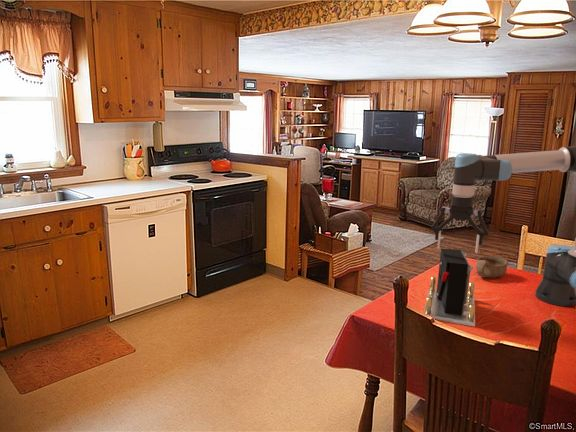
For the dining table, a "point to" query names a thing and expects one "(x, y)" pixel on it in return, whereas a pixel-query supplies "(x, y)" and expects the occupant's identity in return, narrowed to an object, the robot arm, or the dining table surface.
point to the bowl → (491, 266)
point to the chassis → (437, 311)
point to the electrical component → (453, 281)
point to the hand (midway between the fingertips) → (457, 250)
